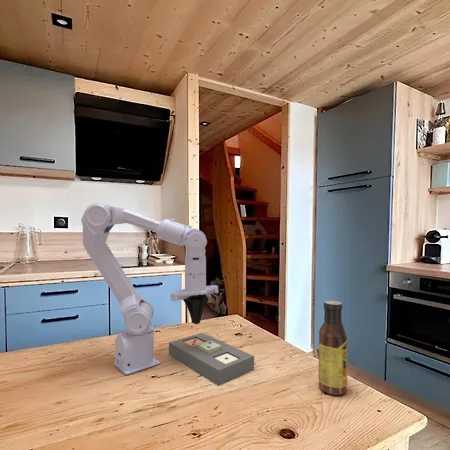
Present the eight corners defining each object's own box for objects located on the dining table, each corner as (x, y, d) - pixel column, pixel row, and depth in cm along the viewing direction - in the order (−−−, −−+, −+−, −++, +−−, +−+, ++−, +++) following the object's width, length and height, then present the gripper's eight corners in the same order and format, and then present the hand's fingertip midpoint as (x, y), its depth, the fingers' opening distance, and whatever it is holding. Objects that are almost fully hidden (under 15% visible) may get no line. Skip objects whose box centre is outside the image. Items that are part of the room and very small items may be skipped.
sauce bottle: (349, 398, 66) (350, 307, 66) (319, 395, 68) (320, 305, 68) (344, 383, 73) (345, 299, 73) (316, 380, 74) (318, 298, 74)
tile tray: (218, 385, 71) (218, 370, 71) (168, 354, 88) (168, 342, 88) (253, 369, 79) (254, 356, 79) (202, 343, 95) (202, 332, 95)
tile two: (207, 356, 80) (208, 349, 80) (197, 351, 83) (197, 344, 83) (221, 352, 83) (221, 345, 83) (210, 346, 87) (210, 340, 86)
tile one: (225, 371, 75) (225, 363, 75) (213, 365, 78) (213, 357, 78) (239, 366, 78) (239, 358, 78) (227, 360, 81) (227, 352, 81)
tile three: (192, 353, 85) (192, 346, 85) (183, 348, 89) (183, 341, 89) (205, 348, 88) (205, 342, 88) (195, 344, 92) (195, 337, 92)
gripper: (181, 278, 76) (181, 333, 76) (225, 272, 85) (225, 320, 85) (166, 275, 81) (166, 326, 81) (209, 269, 91) (209, 314, 91)
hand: (195, 322), depth 84 cm, fingers closed
